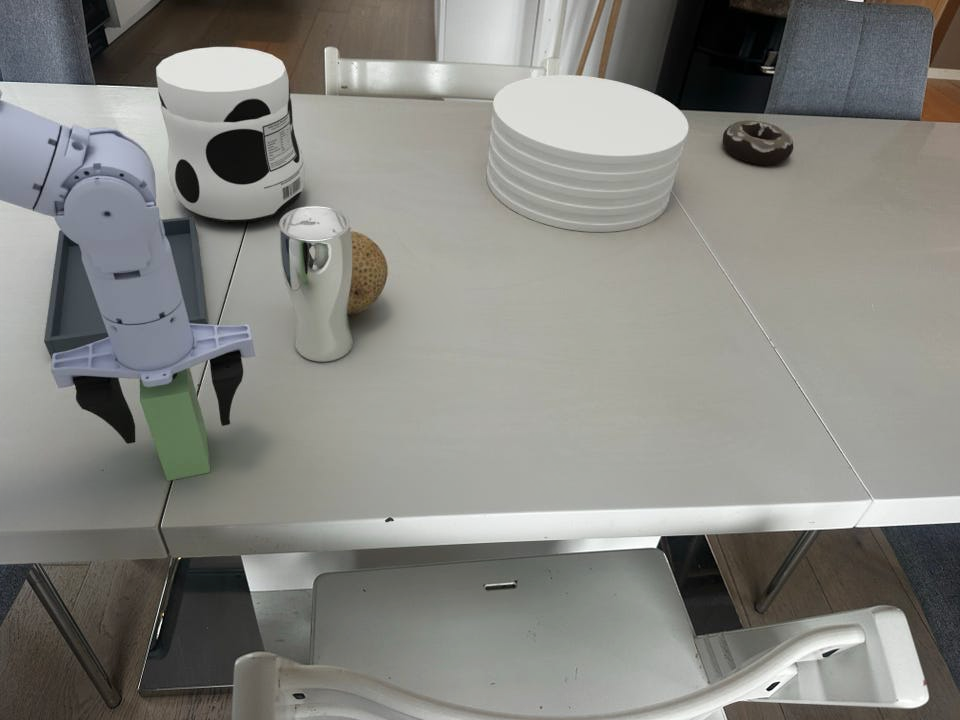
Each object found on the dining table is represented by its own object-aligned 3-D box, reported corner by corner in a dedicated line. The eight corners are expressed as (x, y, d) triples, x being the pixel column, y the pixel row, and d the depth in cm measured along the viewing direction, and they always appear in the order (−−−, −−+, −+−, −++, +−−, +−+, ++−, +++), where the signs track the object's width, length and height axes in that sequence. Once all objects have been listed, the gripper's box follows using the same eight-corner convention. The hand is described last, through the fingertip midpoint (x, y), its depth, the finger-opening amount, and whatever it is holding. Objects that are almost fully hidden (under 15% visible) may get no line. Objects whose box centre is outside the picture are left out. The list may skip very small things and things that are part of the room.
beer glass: (313, 317, 80) (303, 197, 71) (368, 335, 79) (365, 215, 69) (278, 352, 75) (261, 229, 65) (335, 372, 74) (327, 249, 64)
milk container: (179, 173, 102) (151, 43, 90) (303, 168, 106) (291, 43, 94) (172, 238, 90) (138, 97, 78) (312, 229, 94) (299, 94, 82)
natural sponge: (369, 346, 77) (367, 269, 71) (293, 327, 79) (285, 250, 72) (398, 300, 84) (398, 226, 77) (328, 283, 85) (323, 209, 79)
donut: (800, 168, 120) (810, 146, 117) (736, 168, 118) (744, 146, 115) (769, 138, 128) (777, 117, 125) (709, 138, 126) (715, 116, 123)
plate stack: (699, 187, 112) (721, 116, 104) (605, 255, 95) (623, 176, 87) (555, 129, 124) (565, 61, 116) (448, 180, 107) (452, 105, 99)
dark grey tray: (52, 360, 72) (43, 341, 70) (65, 248, 86) (58, 230, 85) (210, 337, 76) (205, 318, 75) (197, 234, 91) (193, 216, 89)
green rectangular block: (167, 481, 62) (133, 382, 54) (165, 438, 66) (133, 339, 58) (210, 472, 63) (183, 373, 55) (206, 430, 67) (180, 332, 59)
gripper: (25, 351, 48) (84, 479, 57) (248, 318, 52) (270, 442, 61) (35, 291, 53) (88, 417, 62) (238, 265, 57) (260, 387, 66)
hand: (178, 425), depth 62 cm, fingers open, 7 cm apart
